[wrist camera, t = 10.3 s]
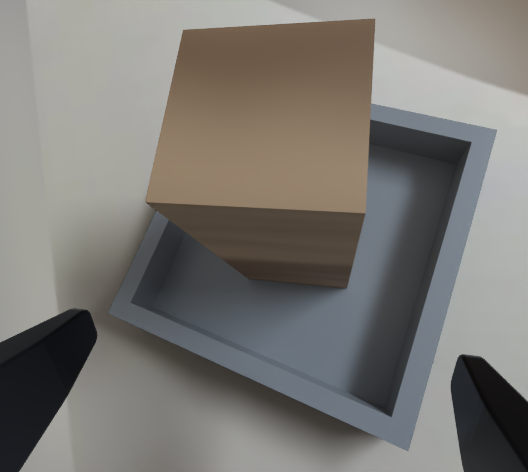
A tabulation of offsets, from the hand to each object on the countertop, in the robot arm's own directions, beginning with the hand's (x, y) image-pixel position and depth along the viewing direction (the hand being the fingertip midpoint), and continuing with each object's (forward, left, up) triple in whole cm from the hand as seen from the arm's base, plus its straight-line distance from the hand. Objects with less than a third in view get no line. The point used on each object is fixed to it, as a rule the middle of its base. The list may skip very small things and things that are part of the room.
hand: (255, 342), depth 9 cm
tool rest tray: (+5, +1, -8) cm, 10 cm away
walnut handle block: (+5, +1, -8) cm, 9 cm away
